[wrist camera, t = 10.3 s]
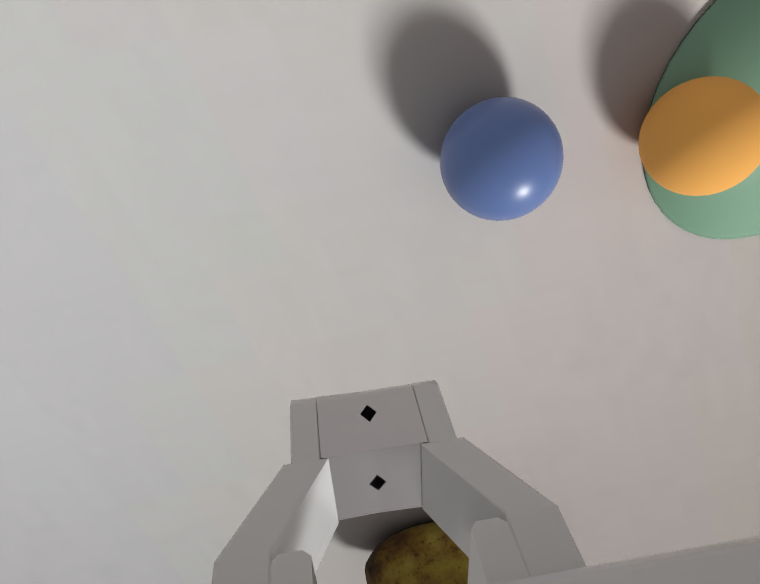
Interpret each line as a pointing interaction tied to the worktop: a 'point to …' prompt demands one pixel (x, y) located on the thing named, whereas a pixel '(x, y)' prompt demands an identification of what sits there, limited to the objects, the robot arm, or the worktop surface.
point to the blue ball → (501, 158)
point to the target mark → (726, 59)
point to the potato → (418, 558)
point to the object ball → (702, 136)
